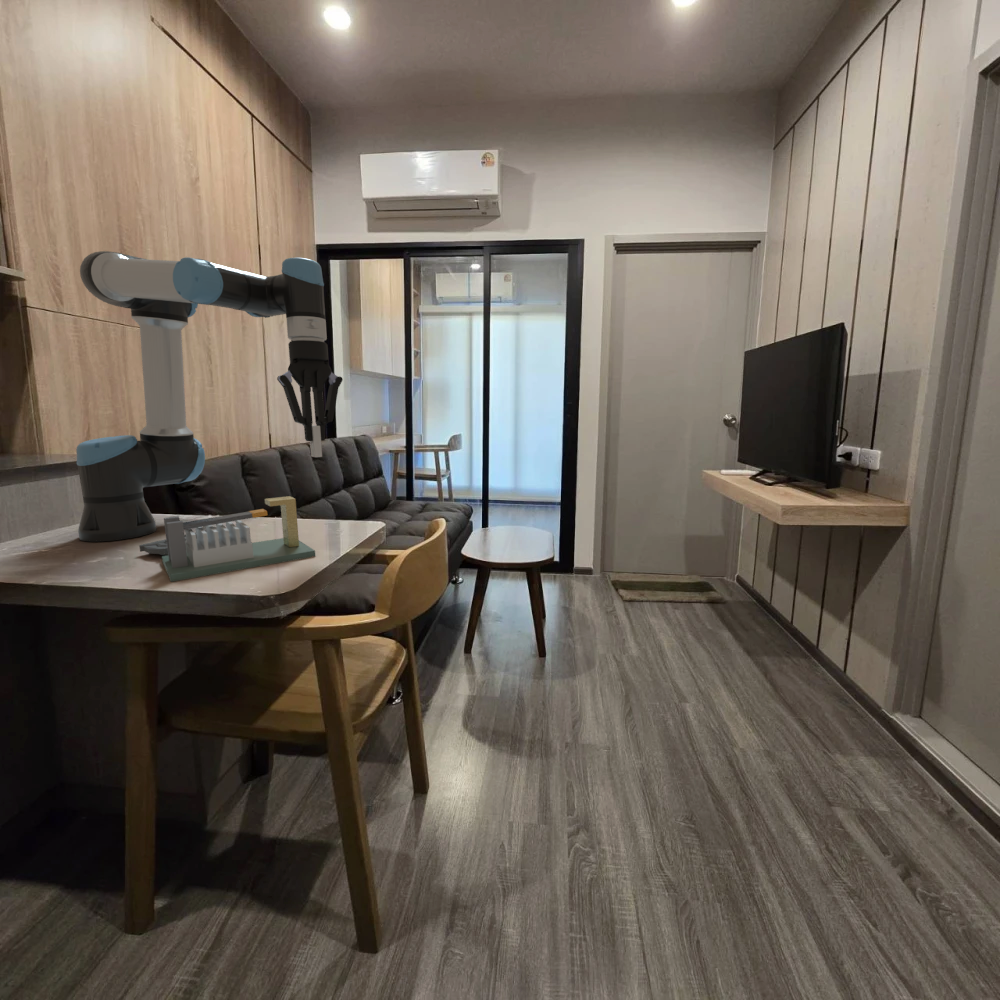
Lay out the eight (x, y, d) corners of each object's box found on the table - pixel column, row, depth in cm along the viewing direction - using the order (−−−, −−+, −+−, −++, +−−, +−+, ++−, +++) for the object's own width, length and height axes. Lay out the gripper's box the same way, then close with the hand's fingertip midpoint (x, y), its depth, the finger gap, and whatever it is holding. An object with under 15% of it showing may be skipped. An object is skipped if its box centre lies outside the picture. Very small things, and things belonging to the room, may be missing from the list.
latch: (268, 545, 108) (264, 498, 107) (293, 542, 111) (289, 496, 110) (273, 549, 105) (269, 501, 104) (299, 545, 108) (295, 498, 107)
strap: (169, 530, 97) (167, 523, 97) (263, 514, 107) (262, 507, 106) (171, 533, 94) (169, 526, 94) (267, 516, 104) (266, 509, 104)
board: (162, 562, 102) (156, 514, 100) (293, 541, 117) (290, 500, 115) (170, 581, 90) (164, 528, 88) (315, 556, 105) (312, 510, 103)
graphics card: (205, 524, 122) (239, 528, 117) (207, 539, 123) (241, 544, 117) (128, 541, 107) (162, 546, 102) (130, 558, 108) (164, 564, 103)
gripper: (279, 336, 99) (289, 460, 103) (345, 341, 107) (353, 455, 111) (269, 341, 105) (279, 457, 109) (332, 345, 113) (340, 453, 117)
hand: (316, 456), depth 110 cm, fingers closed
